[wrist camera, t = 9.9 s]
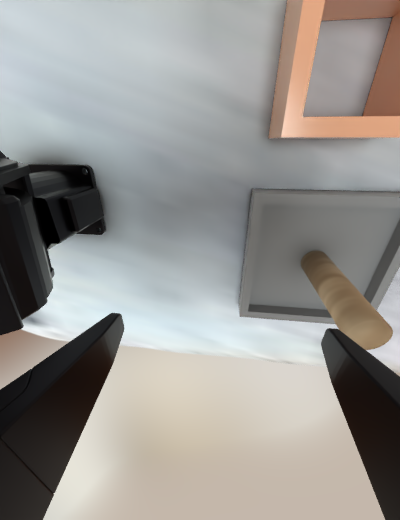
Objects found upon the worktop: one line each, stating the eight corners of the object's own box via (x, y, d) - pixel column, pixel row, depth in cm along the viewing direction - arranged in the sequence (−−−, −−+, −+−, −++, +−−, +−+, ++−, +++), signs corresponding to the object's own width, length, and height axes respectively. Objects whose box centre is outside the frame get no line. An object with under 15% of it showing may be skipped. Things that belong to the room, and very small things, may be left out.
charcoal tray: (238, 304, 25) (239, 316, 23) (252, 188, 19) (254, 193, 17) (357, 313, 24) (367, 326, 22) (414, 192, 17) (435, 197, 16)
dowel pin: (298, 271, 21) (340, 348, 13) (303, 249, 20) (354, 319, 12) (323, 273, 21) (382, 351, 13) (330, 251, 20) (400, 322, 12)
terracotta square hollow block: (268, 138, 17) (281, 137, 13) (287, -1, 13) (312, -62, 9) (369, 138, 16) (416, 137, 12) (418, -9, 12) (507, -78, 8)
